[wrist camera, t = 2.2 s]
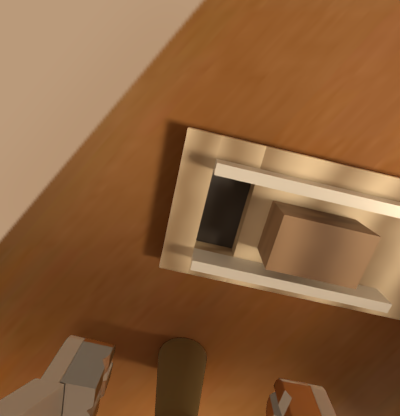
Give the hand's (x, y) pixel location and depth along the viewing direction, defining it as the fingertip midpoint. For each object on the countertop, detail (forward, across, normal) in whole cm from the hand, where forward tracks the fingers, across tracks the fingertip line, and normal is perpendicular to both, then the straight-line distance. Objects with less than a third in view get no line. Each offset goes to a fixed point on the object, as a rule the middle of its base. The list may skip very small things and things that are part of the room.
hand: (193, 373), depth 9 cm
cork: (+19, -2, +20) cm, 28 cm away
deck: (+19, -14, 0) cm, 24 cm away
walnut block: (+17, -10, 0) cm, 20 cm away
